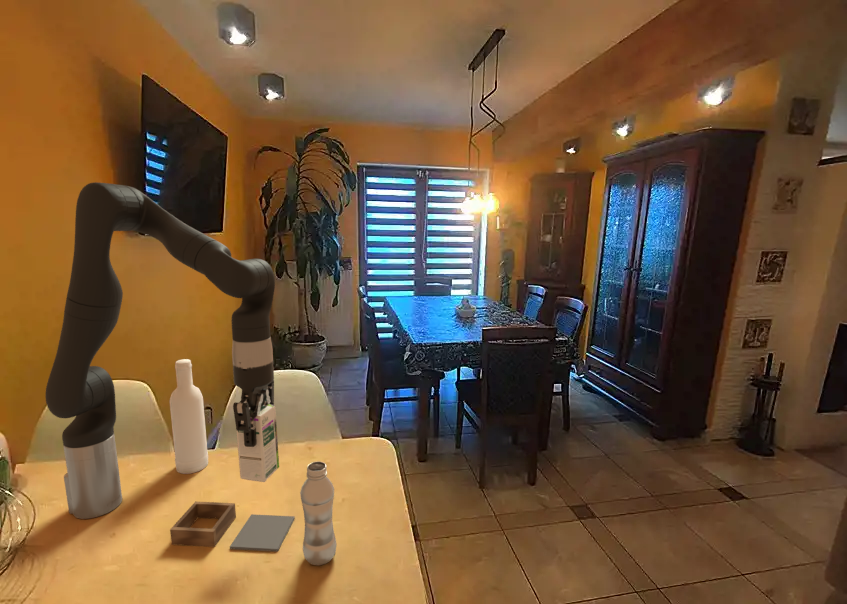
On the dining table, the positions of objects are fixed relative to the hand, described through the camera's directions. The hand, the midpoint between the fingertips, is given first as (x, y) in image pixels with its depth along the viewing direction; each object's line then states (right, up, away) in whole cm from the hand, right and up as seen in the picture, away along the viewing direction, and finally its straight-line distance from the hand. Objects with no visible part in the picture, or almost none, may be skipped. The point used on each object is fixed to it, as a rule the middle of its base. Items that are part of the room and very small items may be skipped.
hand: (257, 437), depth 90 cm
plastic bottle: (+13, -24, -3) cm, 27 cm away
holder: (-13, -22, +5) cm, 26 cm away
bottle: (-29, -17, +29) cm, 44 cm away
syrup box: (0, -8, +1) cm, 8 cm away
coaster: (0, -22, +4) cm, 22 cm away
